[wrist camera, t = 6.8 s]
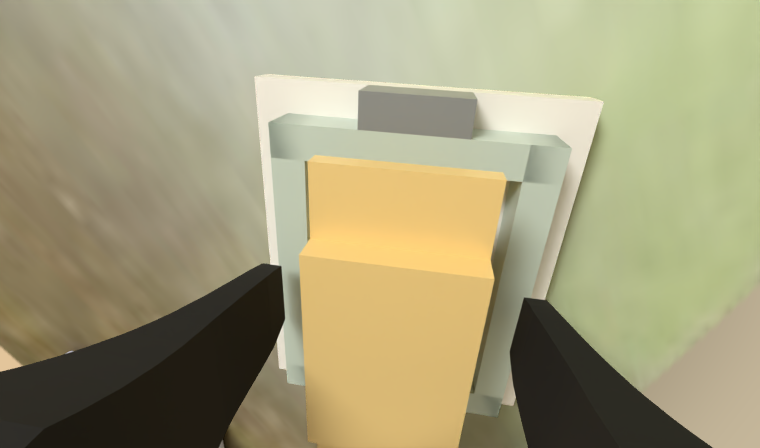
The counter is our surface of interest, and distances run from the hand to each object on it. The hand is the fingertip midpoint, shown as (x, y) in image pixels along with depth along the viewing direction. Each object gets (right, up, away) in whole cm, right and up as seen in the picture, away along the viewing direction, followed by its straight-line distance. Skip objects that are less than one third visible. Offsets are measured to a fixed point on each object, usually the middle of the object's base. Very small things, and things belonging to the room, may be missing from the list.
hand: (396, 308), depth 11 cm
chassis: (0, +1, +3) cm, 3 cm away
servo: (0, +1, +2) cm, 2 cm away
